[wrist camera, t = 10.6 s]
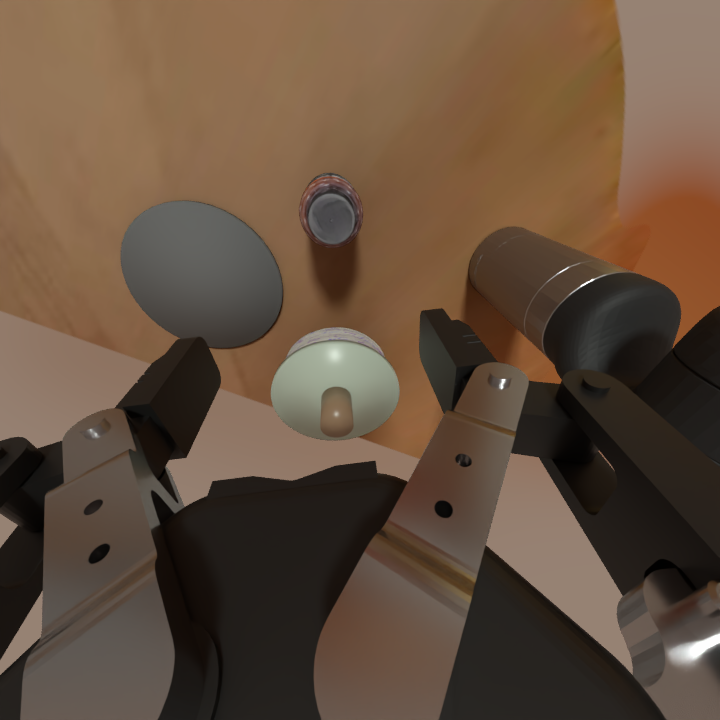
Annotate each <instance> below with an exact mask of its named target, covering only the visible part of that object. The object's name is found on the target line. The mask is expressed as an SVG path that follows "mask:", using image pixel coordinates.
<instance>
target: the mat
mask: <svg viewBox="0 0 720 720" xmlns="http://www.w3.org/2000/svg"><path fill="white" fill-rule="evenodd" d="M121 266H122V271H123V275H124V278H125V281H126V284H127V286H128V288H129V290H130V292H131V294H132V296H133V297H134V299H135V300H136V302H137V303H138V304H139V306H140V307H141V308H142V310H143V311H144V312H145V313H146V314H147V315H148V316H149V317H150V318H151V319H152V320H153V321H155V322H156V323H157V324H158V325H159V326H161V327H162V328H164V329H165V330H166V331H168V332H170V333H172V334H173V335H175V336H177V337H179V338H181V339H183V338H191V337H202V338H203V339H204V340H205V341H206V343H207V345H208V347H214V348H230V347H237V346H241V345H245V344H247V343H250V342H252V341H254V340H256V339H258V338H259V337H261V336H262V335H263V334H264V333H266V332H267V331H268V330H269V328H270V327H271V326H272V325H273V323H274V322H275V320H276V318H277V316H278V314H279V311H280V308H281V304H282V297H283V285H282V279H281V274H280V271H279V268H278V265H277V263H276V261H275V258H274V256H273V255H272V253H271V251H270V250H269V248H268V247H267V245H266V244H265V243H264V241H263V240H262V239H261V238H260V237H259V236H258V234H257V233H256V232H255V231H254V230H253V229H251V228H250V227H249V226H248V225H247V224H246V223H244V222H243V221H241V220H240V219H238V218H237V217H236V216H234V215H232V214H230V213H228V212H226V211H225V210H222V209H220V208H217V207H215V206H212V205H209V204H205V203H201V202H194V201H173V202H167V203H163V204H160V205H157V206H154V207H152V208H150V209H148V210H146V211H144V212H143V213H142V214H140V215H139V216H138V217H137V218H136V219H135V220H134V221H133V222H132V223H131V225H130V226H129V228H128V229H127V231H126V233H125V235H124V239H123V242H122V247H121Z"/></svg>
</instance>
